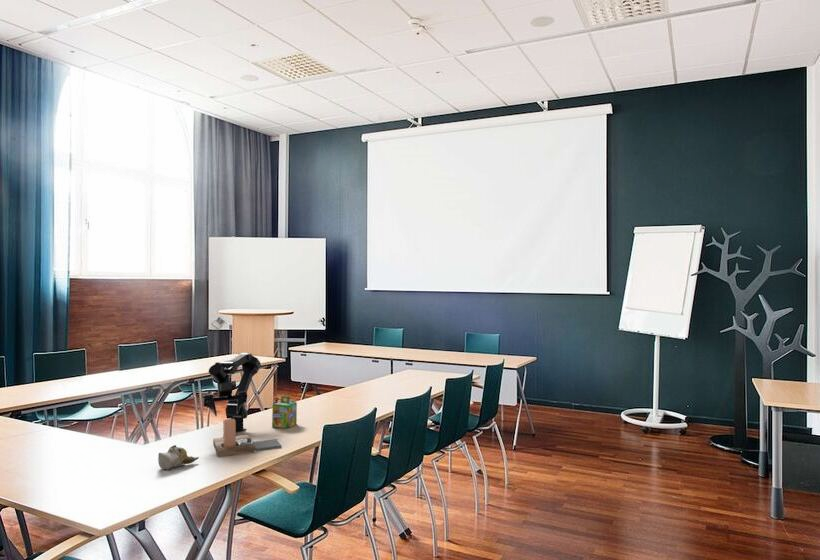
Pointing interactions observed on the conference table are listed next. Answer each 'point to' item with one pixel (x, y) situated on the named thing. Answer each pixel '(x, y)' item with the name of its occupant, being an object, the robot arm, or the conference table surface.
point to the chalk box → (284, 413)
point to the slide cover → (244, 442)
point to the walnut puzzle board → (234, 449)
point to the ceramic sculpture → (174, 458)
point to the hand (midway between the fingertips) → (227, 414)
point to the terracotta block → (229, 433)
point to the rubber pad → (266, 444)
